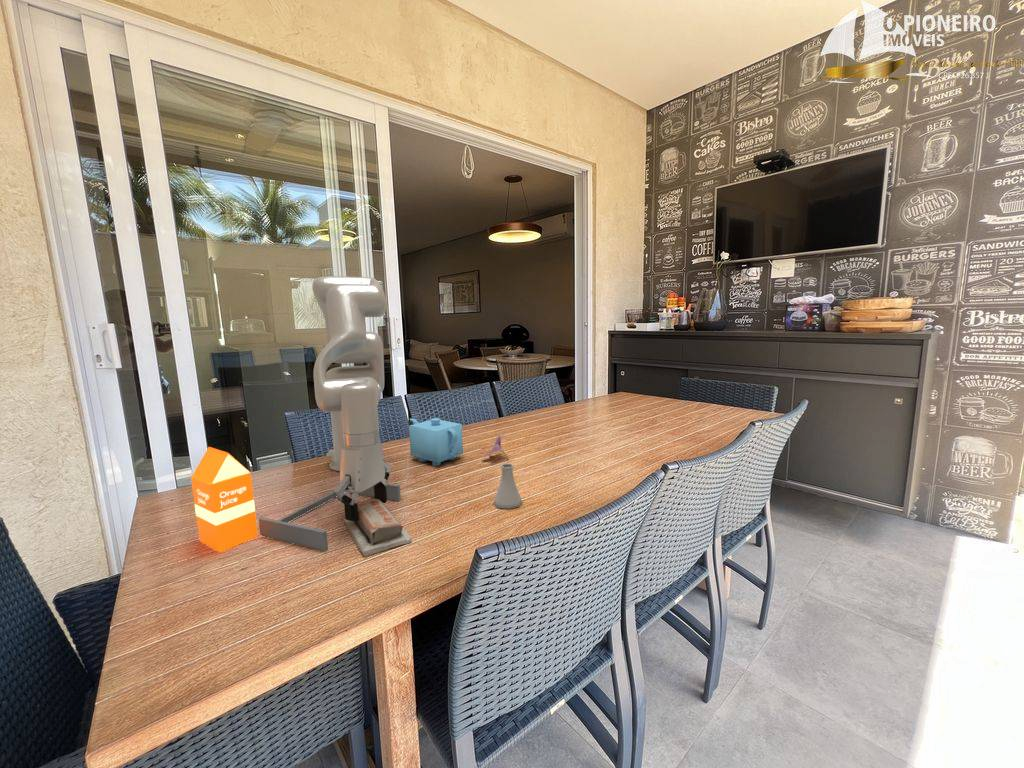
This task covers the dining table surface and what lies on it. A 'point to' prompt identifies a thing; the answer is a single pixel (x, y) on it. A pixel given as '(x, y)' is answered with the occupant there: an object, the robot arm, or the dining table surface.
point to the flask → (507, 489)
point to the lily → (496, 446)
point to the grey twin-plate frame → (307, 534)
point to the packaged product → (376, 528)
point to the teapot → (435, 440)
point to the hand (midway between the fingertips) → (367, 510)
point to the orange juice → (223, 501)
